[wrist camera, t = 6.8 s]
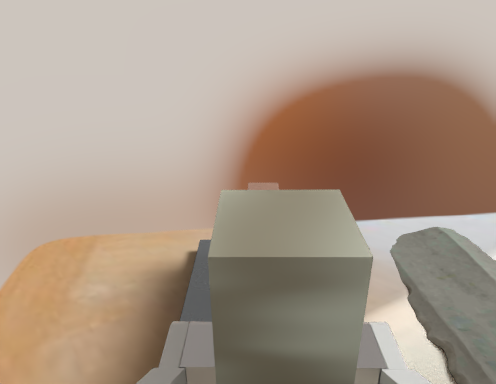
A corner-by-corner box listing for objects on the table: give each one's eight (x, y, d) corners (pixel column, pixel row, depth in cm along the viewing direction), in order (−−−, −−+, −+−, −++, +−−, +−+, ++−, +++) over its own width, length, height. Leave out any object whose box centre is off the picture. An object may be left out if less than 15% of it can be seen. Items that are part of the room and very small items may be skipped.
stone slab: (490, 471, 20) (685, 451, 20) (496, 438, 19) (702, 416, 19) (366, 248, 41) (460, 236, 40) (365, 226, 40) (462, 213, 39)
